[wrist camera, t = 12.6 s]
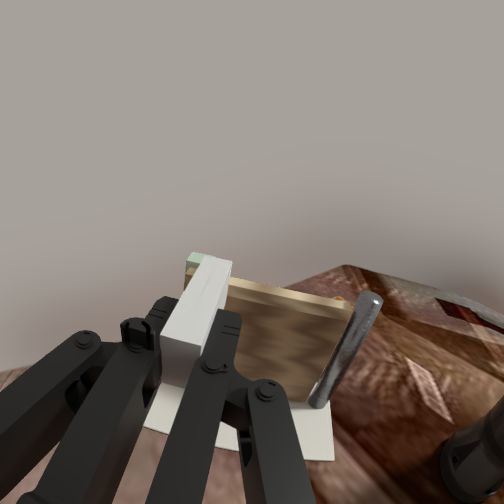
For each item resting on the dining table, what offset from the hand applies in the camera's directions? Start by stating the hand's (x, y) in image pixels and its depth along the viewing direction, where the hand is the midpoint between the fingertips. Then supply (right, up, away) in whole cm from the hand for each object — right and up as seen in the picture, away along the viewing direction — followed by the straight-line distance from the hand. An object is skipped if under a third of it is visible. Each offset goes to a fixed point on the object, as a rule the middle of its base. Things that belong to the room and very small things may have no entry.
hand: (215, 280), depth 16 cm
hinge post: (+11, -20, +22) cm, 32 cm away
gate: (+1, -17, +21) cm, 27 cm away
